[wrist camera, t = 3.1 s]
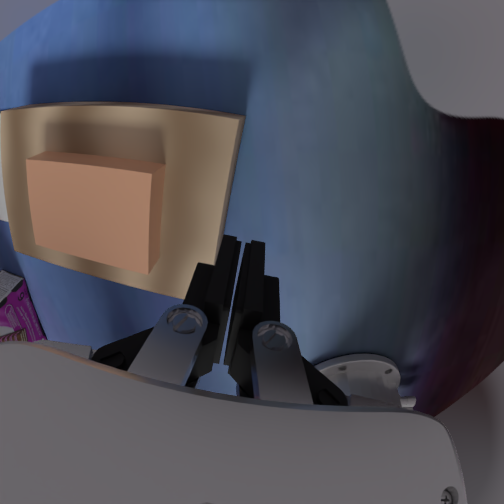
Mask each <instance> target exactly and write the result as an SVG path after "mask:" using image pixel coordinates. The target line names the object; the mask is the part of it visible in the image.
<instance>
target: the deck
mask: <svg viewBox="0 0 504 504" xmlns="http://www.w3.org/2000/svg"><path fill="white" fill-rule="evenodd" d="M245 117H246V116H244V115H238V114H232V113H226V112H220V111H213V110H207V109H199V108H191V107H183V106H173V105H162V104H150V103H133V102H58V103H42V104H31V105H26V106H21V107H17V108H12V109H8V110H4V111H1V127H0V136H1V163H2V176H3V186H4V195H5V202H6V209H7V215H8V221H9V226H10V232H11V236H12V241H13V246H14V250H15V251H17V252H20V253H23V254H25V255H28V256H31V257H34V258H37V259H40V260H43V261H46V262H50V263H53V264H56V265H59V266H62V267H65V268H69V269H72V270H75V271H78V272H82V273H85V274H89V275H92V276H95V277H99V278H102V279H106V280H110V281H113V282H117V283H121V284H124V285H128V286H132V287H136V288H139V289H143V290H147V291H151V292H155V293H159V294H163V295H167V296H171V297H176V298H180V299H185V296H186V293H187V290H188V288H189V285H190V282H191V279H192V277H193V274H194V271H195V268H196V266H197V263H198V262H200V263H205V264H210V265H215V263H216V259H217V256H218V252H219V249H220V245H221V242H222V238H223V234H224V228H225V222H226V217H227V211H228V205H229V200H230V194H231V189H232V183H233V178H234V173H235V168H236V162H237V157H238V152H239V147H240V142H241V137H242V132H243V127H244V122H245ZM45 151H51V152H65V153H77V154H88V155H98V156H107V157H116V158H125V159H132V160H140V161H147V162H154V163H161V164H166V167H165V178H164V189H163V201H162V216H161V234H160V257H159V259H158V260H157V262H156V264H155V265H154V267H153V268H152V270H151V272H150V273H149V275H146V274H142V273H138V272H134V271H130V270H126V269H122V268H118V267H114V266H110V265H107V264H103V263H99V262H95V261H92V260H88V259H84V258H81V257H77V256H74V255H70V254H67V253H63V252H60V251H56V250H53V249H49V248H46V247H42V246H39V245H36V243H35V238H34V232H33V226H32V219H31V212H30V204H29V195H28V185H27V171H26V159H28V158H30V157H33V156H35V155H37V154H40V153H42V152H45Z"/></svg>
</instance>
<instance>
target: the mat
mask: <svg viewBox="0 0 504 504" xmlns="http://www.w3.org/2000/svg"><path fill="white" fill-rule="evenodd" d="M0 127H1V113H0ZM0 220H3V221H6V222H9V221H8V215H7V209H6V202H5V195H4V186H3V176H2V163H1V136H0Z"/></svg>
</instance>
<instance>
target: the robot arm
mask: <svg viewBox="0 0 504 504" xmlns="http://www.w3.org/2000/svg"><path fill="white" fill-rule="evenodd" d="M236 240H237V237H234V236H229V235H223V238H222V242H221V245H220V249H219V252H218V256H217V259H216V263H215V265H210V264H205V263H200V262H198V263H197V266H196V268H195V271H194V274H193V277H192V279H191V282H190V285H189V288H188V290H187V293H186V296H185V299H184V302H183V304H179V305H174V306H172V307H170V308H168V309H167V310H166V311H165V312H164V313H163V315H162V316H161V318H160V319H159V321H158V322H157V324H156V326H155V327H153V328H150V329H147V330H145V331H142V332H140V333H137V334H134V335H132V336H129V337H126V338H124V339H121V340H118V341H116V342H113V343H110V344H108V345H105V346H103V347H101V348H99V349H98V350H93V349H92V348H91V346H84V345H77V344H69V343H62V342H56V341H50V340H38V341H35V342H27V341H6V342H1V343H0V504H467V498H466V491H465V485H464V479H463V475H462V470H461V466H460V462H459V458H458V455H457V451H456V448H455V445H454V442H453V440H452V437H451V435H450V433H449V431H448V430H447V428H446V427H445V425H444V424H443V423H442V422H441V421H439V420H438V419H436V418H434V417H432V416H430V415H427V414H424V413H421V412H419V411H414V410H413V408H412V407H413V406H414V405H415V403H416V398H415V397H414V396H404V397H401V396H400V395H399V394H398V390H397V389H398V386H399V384H400V378H401V377H400V373H399V370H398V367H397V365H396V364H395V363H394V362H393V361H392V360H390V359H388V358H386V357H384V356H380V355H376V354H352V355H346V356H341V357H337V358H333V359H330V360H327V361H325V362H322V363H320V364H318V365H316V366H313V365H312V364H311V363H309V362H308V361H307V360H306V359H305V358H304V357H303V356H301V352H300V349H299V345H298V341H297V337H296V335H295V333H294V332H293V331H292V329H291V328H289V327H288V326H287V325H285V324H283V323H280V297H279V278H277V277H272V276H267V275H264V265H265V243H264V242H259V241H254V240H252V241H251V243H246V244H245V248H244V253H243V257H242V262H241V267H240V271H239V276H238V281H237V285H236V290H235V295H234V300H233V306H232V313H231V319H230V325H229V332H228V338H227V345H226V351H225V358H224V365H229V369H228V374H230V376H231V377H232V378H233V379H234V380H235V381H236V382H237V384H236V395H237V396H233V395H227V394H221V393H215V392H210V391H205V390H200V389H197V387H198V385H199V382H200V378H201V376H203V375H205V374H207V373H209V372H210V371H212V366H213V363H218V364H219V361H220V356H221V351H222V346H223V341H224V336H225V331H226V326H227V321H228V317H229V312H230V307H231V301H232V295H233V289H234V283H235V277H236V271H237V265H238V260H239V254H240V248H241V241H236Z"/></svg>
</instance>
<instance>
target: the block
mask: <svg viewBox="0 0 504 504" xmlns="http://www.w3.org/2000/svg"><path fill="white" fill-rule="evenodd" d="M165 167H166V164H161V163H154V162H147V161H140V160H132V159H125V158H116V157H107V156H98V155H88V154H77V153H65V152H51V151H45V152H42V153H40V154H37V155H35V156H33V157H30V158H28V159H26V171H27V185H28V195H29V204H30V212H31V219H32V226H33V232H34V238H35V243H36V245H39V246H42V247H46V248H49V249H53V250H56V251H60V252H63V253H67V254H70V255H74V256H77V257H81V258H84V259H88V260H92V261H95V262H99V263H103V264H107V265H110V266H114V267H118V268H122V269H126V270H130V271H134V272H138V273H142V274H146V275H149V273H150V272H151V270H152V268H153V267H154V265H155V264H156V262H157V260H158V259H159V257H160V234H161V216H162V201H163V189H164V178H165Z"/></svg>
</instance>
